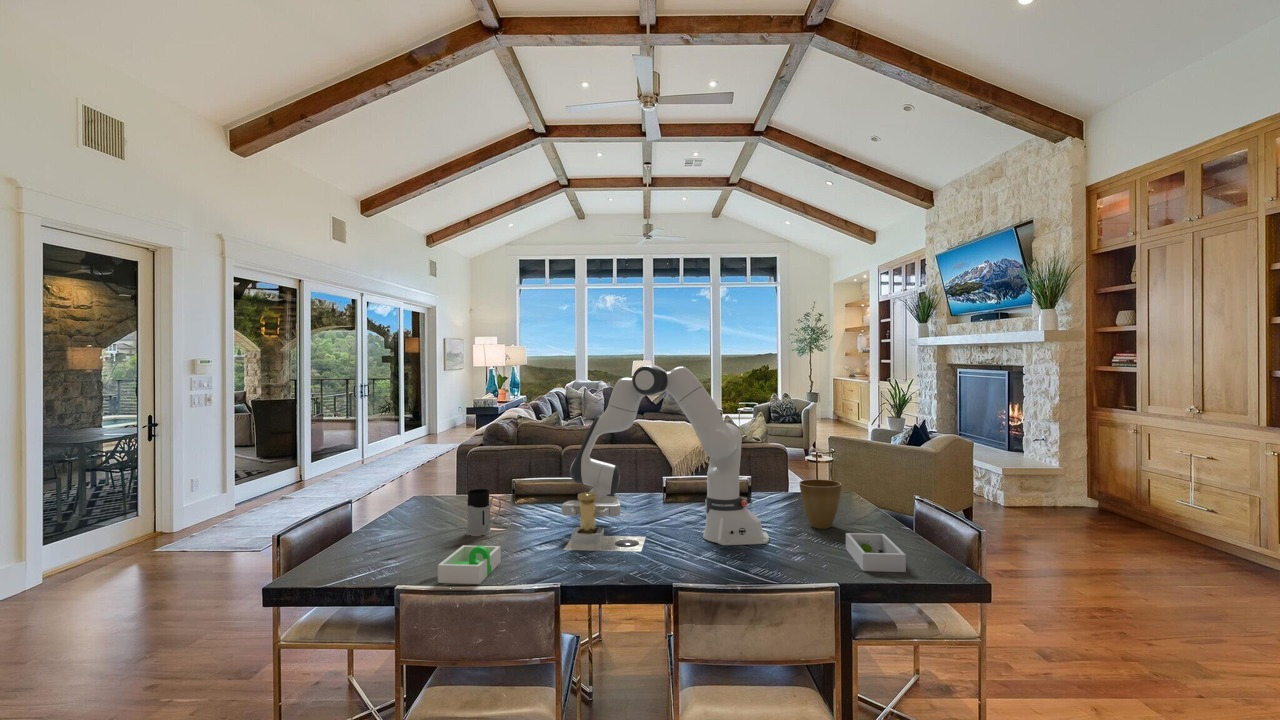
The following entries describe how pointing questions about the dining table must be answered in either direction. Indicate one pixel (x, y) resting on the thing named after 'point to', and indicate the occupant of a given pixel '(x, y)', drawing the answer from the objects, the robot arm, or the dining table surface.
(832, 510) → the plant pot
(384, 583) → the dining table surface
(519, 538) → the dining table surface
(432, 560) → the dining table surface
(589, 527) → the brass flanged pin
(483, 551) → the mechanical part
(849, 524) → the dining table surface
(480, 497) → the glass holder
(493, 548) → the parts tray
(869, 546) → the decorative flower
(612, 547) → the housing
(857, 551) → the flower tray
